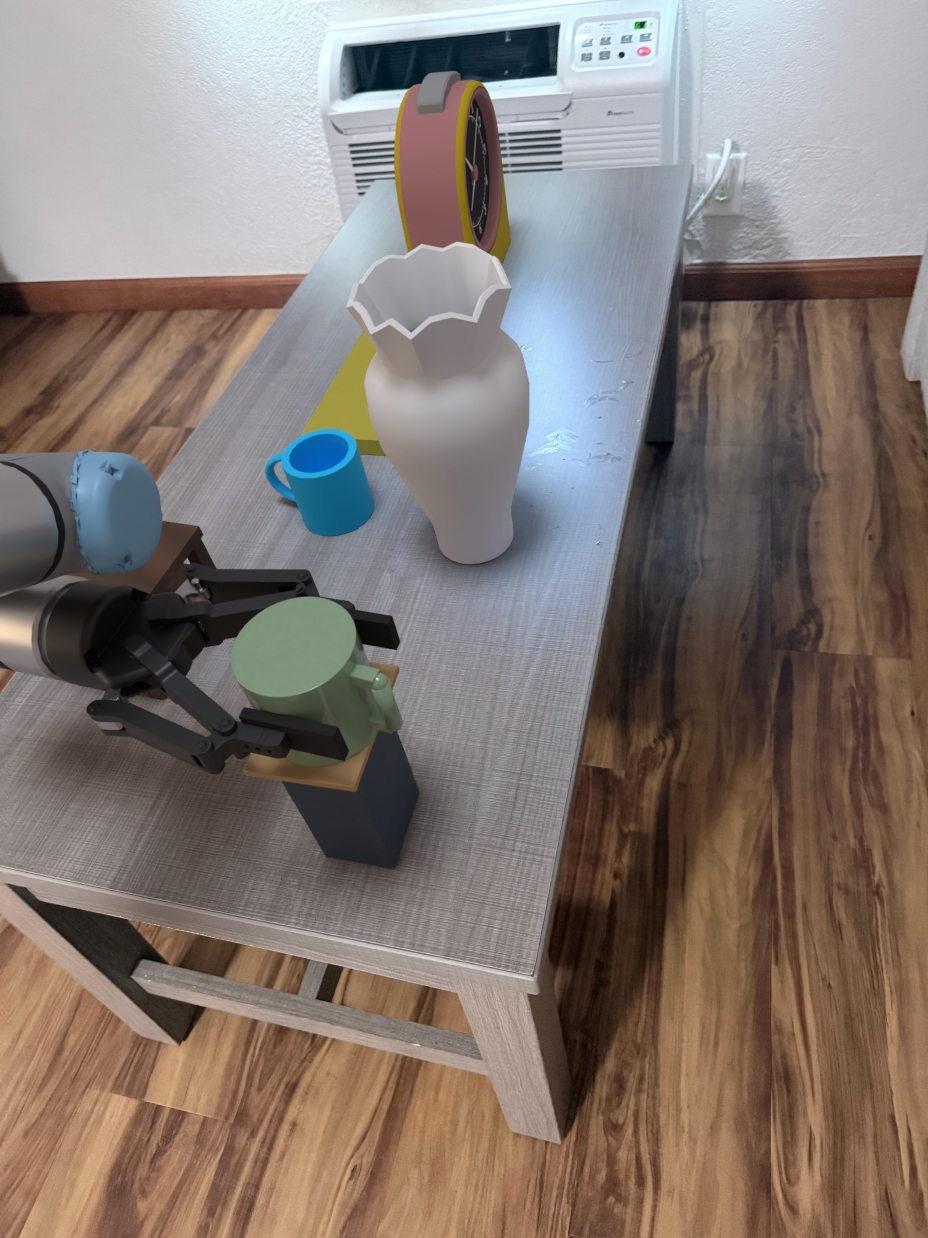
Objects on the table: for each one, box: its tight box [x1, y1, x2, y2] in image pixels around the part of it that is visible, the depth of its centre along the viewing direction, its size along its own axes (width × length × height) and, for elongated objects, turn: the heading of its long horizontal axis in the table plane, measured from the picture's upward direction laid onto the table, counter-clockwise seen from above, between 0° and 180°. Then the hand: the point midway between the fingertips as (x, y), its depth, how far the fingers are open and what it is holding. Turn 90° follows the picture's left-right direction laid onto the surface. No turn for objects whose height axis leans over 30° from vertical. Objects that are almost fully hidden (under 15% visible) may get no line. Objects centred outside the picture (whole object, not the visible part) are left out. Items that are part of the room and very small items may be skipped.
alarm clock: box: [393, 70, 512, 266], centre depth 119 cm, size 21×9×26 cm, turn 167°
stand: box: [243, 661, 420, 870], centre depth 67 cm, size 10×8×16 cm
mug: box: [264, 429, 375, 537], centre depth 96 cm, size 12×8×8 cm
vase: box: [345, 242, 530, 565], centre depth 82 cm, size 15×15×29 cm
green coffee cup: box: [230, 597, 404, 767], centre depth 57 cm, size 10×8×8 cm
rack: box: [67, 520, 218, 700], centre depth 87 cm, size 14×12×10 cm
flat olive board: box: [300, 330, 387, 457], centre depth 112 cm, size 12×2×24 cm
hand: (368, 686), depth 56 cm, fingers open, 8 cm apart
